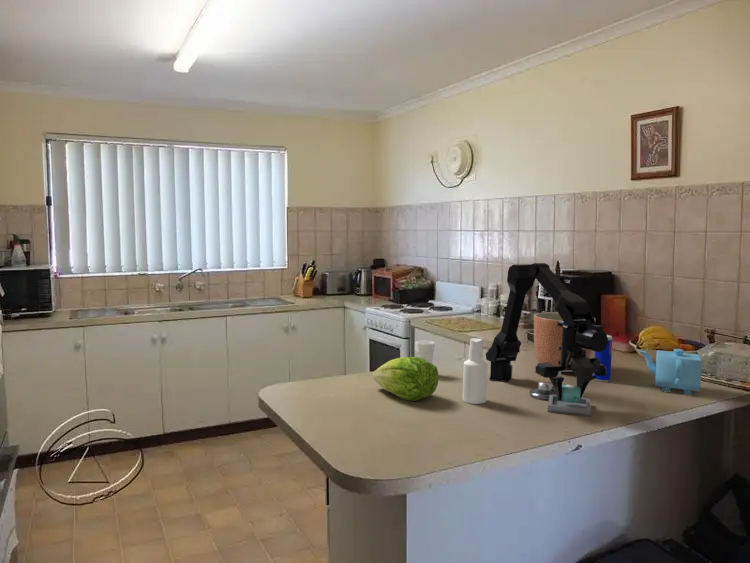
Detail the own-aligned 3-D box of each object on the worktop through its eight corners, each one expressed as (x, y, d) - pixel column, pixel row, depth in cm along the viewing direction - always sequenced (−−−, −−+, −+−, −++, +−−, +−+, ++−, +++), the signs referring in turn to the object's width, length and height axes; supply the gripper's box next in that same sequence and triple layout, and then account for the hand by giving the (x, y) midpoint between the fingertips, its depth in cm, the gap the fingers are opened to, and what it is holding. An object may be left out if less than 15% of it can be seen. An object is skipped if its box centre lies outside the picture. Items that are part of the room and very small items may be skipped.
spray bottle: (487, 398, 172) (490, 338, 170) (484, 405, 165) (486, 342, 164) (464, 396, 174) (466, 336, 172) (460, 402, 168) (462, 340, 166)
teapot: (696, 386, 190) (699, 347, 189) (700, 398, 176) (703, 356, 175) (635, 379, 198) (637, 341, 196) (634, 390, 184) (637, 350, 182)
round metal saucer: (528, 398, 173) (528, 385, 173) (530, 390, 182) (531, 377, 181) (560, 401, 170) (560, 388, 170) (560, 393, 179) (561, 380, 178)
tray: (547, 411, 161) (547, 405, 161) (549, 400, 171) (549, 394, 171) (590, 416, 157) (590, 410, 157) (589, 405, 168) (589, 398, 167)
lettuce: (393, 364, 188) (367, 346, 180) (450, 368, 173) (425, 349, 165) (381, 402, 183) (354, 386, 175) (439, 410, 168) (412, 392, 160)
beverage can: (611, 382, 193) (614, 337, 191) (594, 381, 194) (597, 336, 192) (608, 378, 198) (611, 334, 196) (592, 377, 199) (594, 333, 197)
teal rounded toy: (555, 397, 166) (555, 383, 166) (573, 396, 167) (574, 382, 167) (567, 404, 160) (567, 390, 159) (585, 403, 161) (586, 389, 160)
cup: (411, 375, 197) (412, 343, 196) (417, 371, 203) (418, 339, 202) (430, 377, 195) (431, 345, 194) (436, 373, 201) (437, 341, 200)
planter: (568, 360, 223) (570, 311, 222) (605, 374, 204) (608, 320, 202) (520, 364, 217) (522, 313, 215) (554, 378, 197) (557, 322, 195)
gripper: (555, 351, 153) (552, 410, 154) (620, 350, 156) (616, 407, 158) (535, 343, 164) (533, 397, 165) (596, 341, 167) (593, 395, 169)
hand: (569, 399), depth 164 cm, fingers closed on teal rounded toy, 6 cm apart
